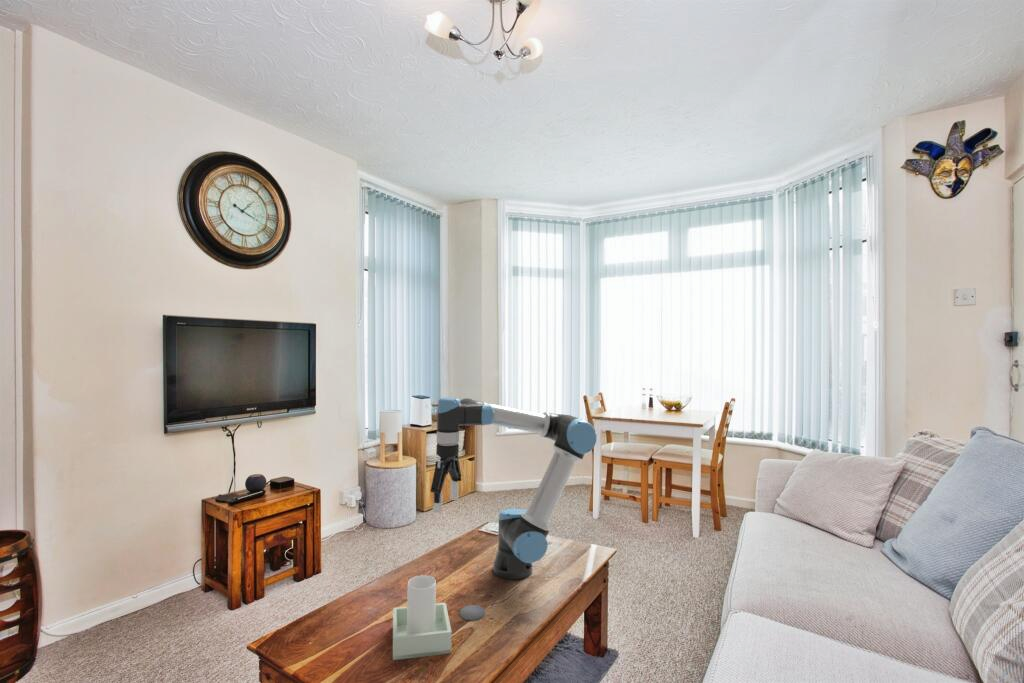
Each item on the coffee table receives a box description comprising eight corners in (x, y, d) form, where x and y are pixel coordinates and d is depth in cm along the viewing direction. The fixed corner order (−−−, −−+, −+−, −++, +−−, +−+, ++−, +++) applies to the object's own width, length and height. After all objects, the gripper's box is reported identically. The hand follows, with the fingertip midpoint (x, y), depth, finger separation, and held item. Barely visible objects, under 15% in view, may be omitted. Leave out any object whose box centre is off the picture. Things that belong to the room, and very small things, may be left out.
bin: (445, 621, 155) (445, 602, 155) (451, 653, 139) (451, 631, 140) (392, 627, 151) (393, 607, 151) (392, 660, 136) (393, 638, 136)
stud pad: (482, 605, 165) (482, 604, 165) (486, 618, 157) (486, 617, 157) (458, 608, 163) (458, 606, 163) (461, 621, 155) (461, 619, 155)
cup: (439, 630, 148) (440, 577, 148) (427, 646, 140) (428, 590, 140) (414, 625, 151) (415, 573, 151) (401, 641, 143) (402, 586, 143)
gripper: (452, 436, 182) (450, 493, 182) (420, 449, 158) (419, 516, 158) (471, 437, 180) (469, 496, 180) (442, 451, 156) (440, 519, 156)
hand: (446, 505), depth 169 cm, fingers open, 13 cm apart
